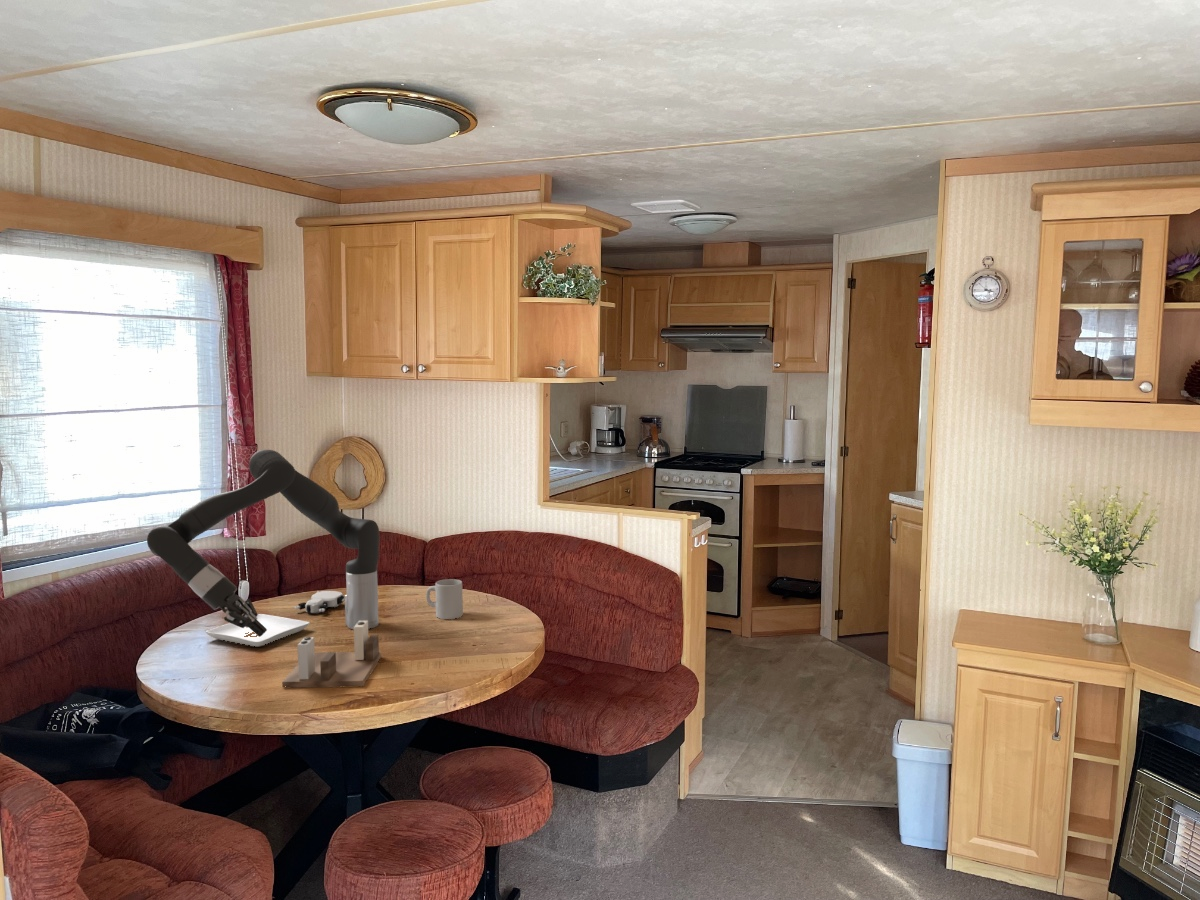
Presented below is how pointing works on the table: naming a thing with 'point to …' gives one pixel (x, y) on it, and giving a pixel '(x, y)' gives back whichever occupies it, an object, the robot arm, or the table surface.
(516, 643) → the table surface
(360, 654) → the tile one
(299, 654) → the tile two
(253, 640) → the salad plate
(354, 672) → the brown piece
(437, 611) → the mug
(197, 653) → the table surface
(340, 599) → the robot toy
